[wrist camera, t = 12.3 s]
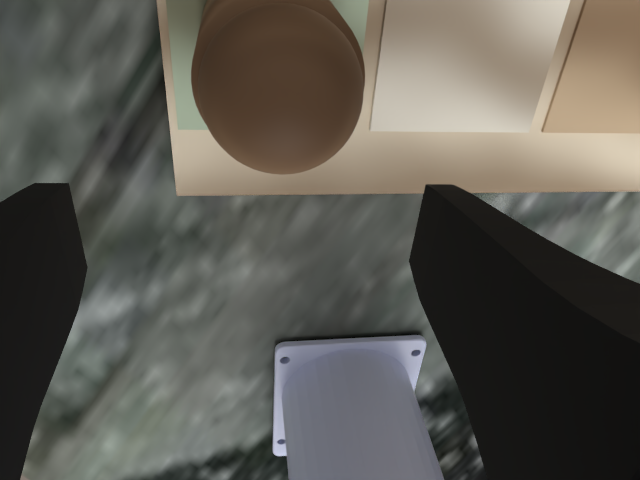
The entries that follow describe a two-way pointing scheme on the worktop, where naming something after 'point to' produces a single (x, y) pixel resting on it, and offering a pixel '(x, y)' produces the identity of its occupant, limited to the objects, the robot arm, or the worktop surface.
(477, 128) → the game board
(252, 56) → the walnut pawn
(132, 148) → the worktop surface
